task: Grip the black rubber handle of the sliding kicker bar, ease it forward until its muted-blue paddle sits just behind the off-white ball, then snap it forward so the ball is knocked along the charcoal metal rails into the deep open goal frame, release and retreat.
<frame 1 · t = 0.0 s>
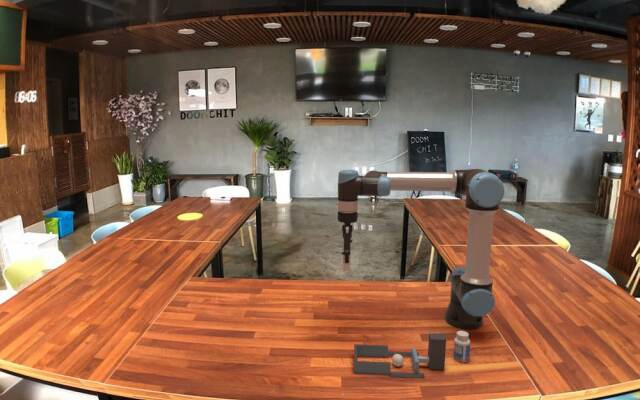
hand: (346, 264, 171), 28 cm above the table, fingers open, 13 cm apart
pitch: (380, 364, 153), on the table
pill bottle: (461, 359, 157), on the table
ball: (397, 360, 153), point 2 cm above the table
kicker: (428, 351, 151), point 6 cm above the table, slide at 0.0 cm
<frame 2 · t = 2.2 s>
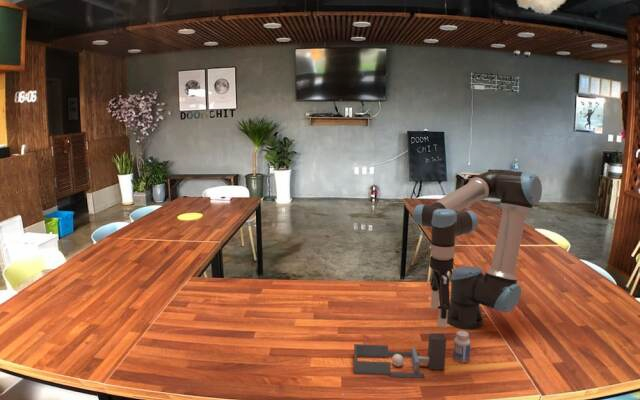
hand: (438, 317, 149), 18 cm above the table, fingers open, 13 cm apart
nothing on the table moved.
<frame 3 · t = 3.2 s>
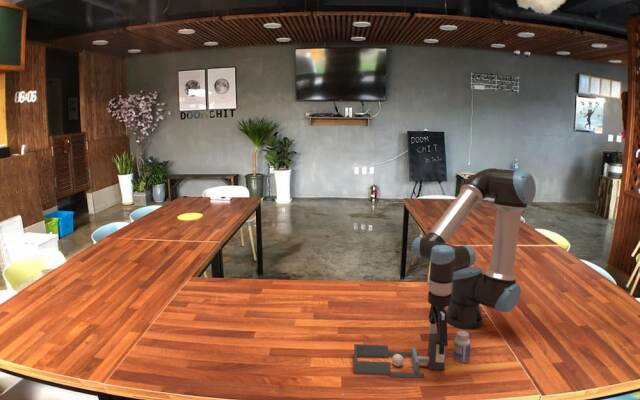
hand: (436, 351, 151), 6 cm above the table, fingers open, 13 cm apart
nothing on the table moved.
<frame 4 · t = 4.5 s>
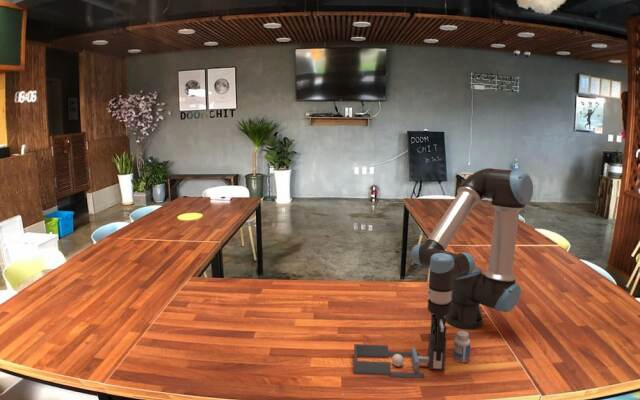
hand: (435, 363, 152), 1 cm above the table, fingers closed on kicker, 4 cm apart
kicker: (428, 351, 151), point 6 cm above the table, slide at 0.0 cm, touching gripper
everything else where it was.
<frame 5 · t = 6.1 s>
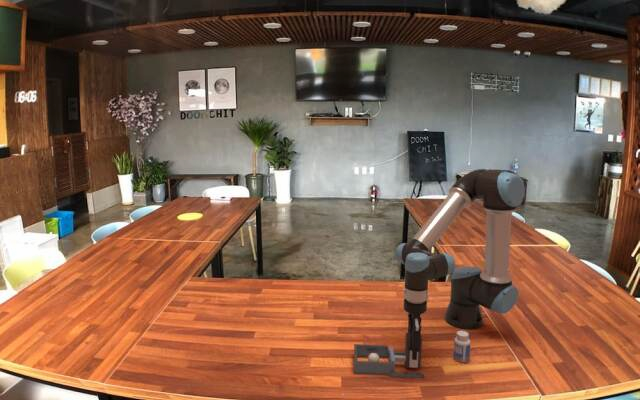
hand: (412, 362, 152), 1 cm above the table, fingers closed on kicker, 4 cm apart
ball: (373, 359, 153), point 2 cm above the table, tilted 135°
kicker: (405, 350, 152), point 6 cm above the table, slide at 7.9 cm, touching gripper
everything else where it was.
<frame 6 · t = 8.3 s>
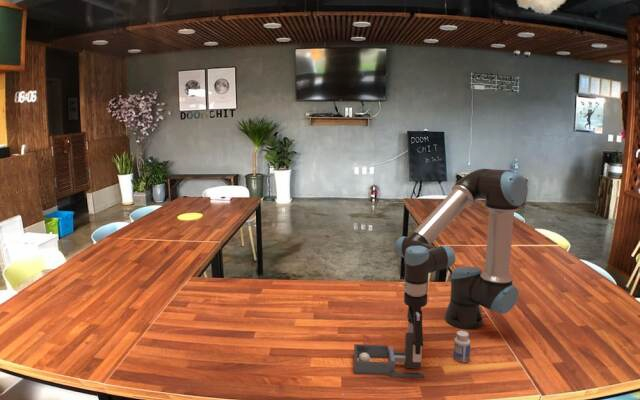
hand: (414, 350, 152), 6 cm above the table, fingers open, 13 cm apart
ball: (364, 358, 153), point 2 cm above the table, tilted 42°
kicker: (405, 350, 152), point 6 cm above the table, slide at 8.0 cm
everything else where it was.
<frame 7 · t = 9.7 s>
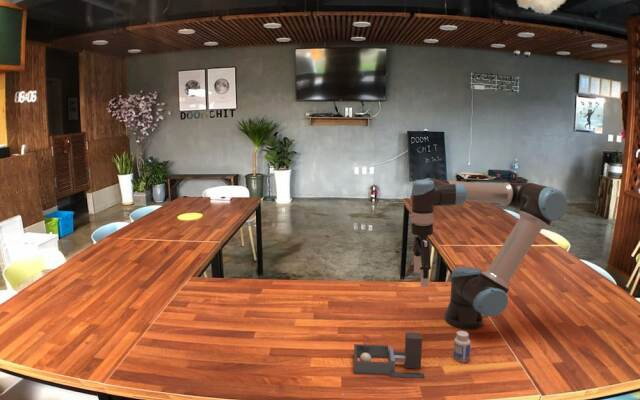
hand: (421, 279, 163), 26 cm above the table, fingers open, 13 cm apart
ball: (365, 358, 153), point 2 cm above the table, tilted 54°
everything else where it was.
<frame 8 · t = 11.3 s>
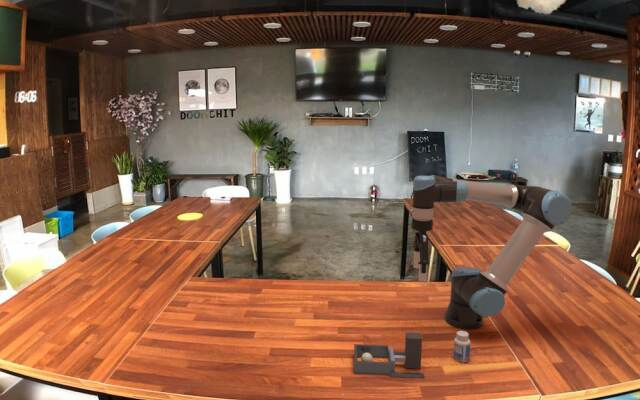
hand: (419, 274, 165), 27 cm above the table, fingers open, 13 cm apart
ball: (366, 358, 153), point 2 cm above the table, tilted 67°
everything else where it was.
at the end: ball inside the target area (1.4 cm from its centre), point 2.0 cm above the table; kicker slide at 8.0 cm; the gripper is holding nothing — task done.
